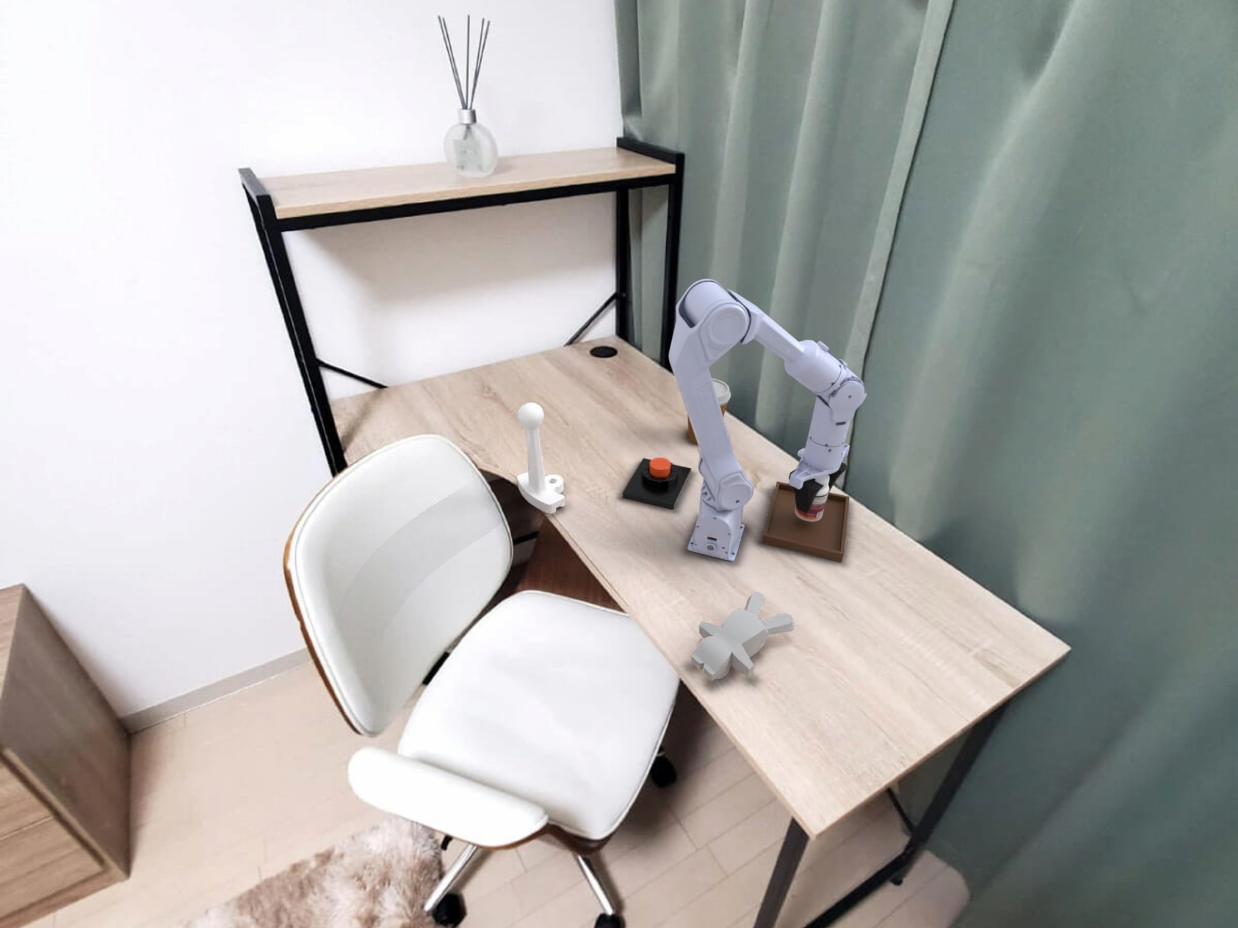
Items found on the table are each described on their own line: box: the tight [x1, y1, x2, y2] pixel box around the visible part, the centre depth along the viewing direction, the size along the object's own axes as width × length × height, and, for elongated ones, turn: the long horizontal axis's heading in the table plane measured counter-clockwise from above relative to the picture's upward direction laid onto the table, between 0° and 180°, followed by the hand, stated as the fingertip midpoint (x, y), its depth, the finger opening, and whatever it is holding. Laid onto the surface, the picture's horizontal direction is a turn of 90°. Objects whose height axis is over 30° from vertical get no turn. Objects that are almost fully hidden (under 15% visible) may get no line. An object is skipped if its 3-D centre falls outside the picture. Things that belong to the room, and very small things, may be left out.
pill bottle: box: [795, 475, 830, 522], centre depth 104 cm, size 5×5×8 cm
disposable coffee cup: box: [687, 377, 732, 445], centre depth 127 cm, size 10×10×12 cm
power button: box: [649, 457, 672, 478], centre depth 115 cm, size 4×4×2 cm
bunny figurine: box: [690, 591, 796, 682], centre depth 84 cm, size 10×5×15 cm
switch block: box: [622, 457, 692, 511], centre depth 115 cm, size 12×10×3 cm
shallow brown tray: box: [760, 481, 851, 563], centre depth 107 cm, size 16×13×2 cm
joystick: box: [516, 402, 566, 515], centre depth 108 cm, size 11×8×20 cm
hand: (810, 503), depth 105 cm, fingers closed on pill bottle, 5 cm apart
